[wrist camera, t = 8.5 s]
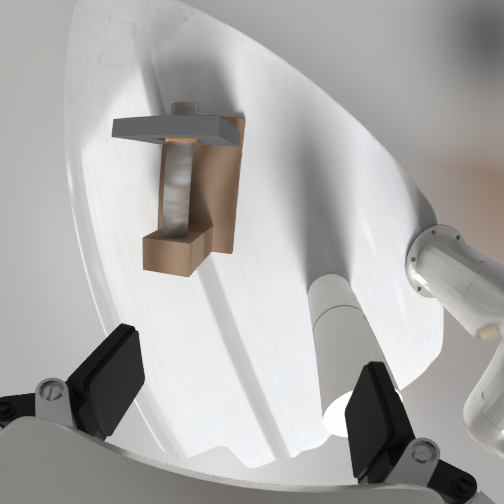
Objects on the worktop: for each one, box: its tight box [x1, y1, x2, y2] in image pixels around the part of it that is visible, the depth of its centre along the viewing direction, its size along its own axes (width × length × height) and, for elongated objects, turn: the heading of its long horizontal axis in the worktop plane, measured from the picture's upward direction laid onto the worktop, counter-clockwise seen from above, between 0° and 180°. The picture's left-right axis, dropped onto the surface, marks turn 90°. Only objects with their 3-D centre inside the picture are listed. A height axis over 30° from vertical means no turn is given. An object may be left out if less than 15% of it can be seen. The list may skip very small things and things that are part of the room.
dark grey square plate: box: [112, 115, 240, 147], centre depth 30 cm, size 12×2×12 cm, turn 84°
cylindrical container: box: [308, 274, 402, 437], centre depth 31 cm, size 7×7×25 cm
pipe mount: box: [143, 102, 245, 277], centre depth 35 cm, size 12×20×12 cm, turn 174°
